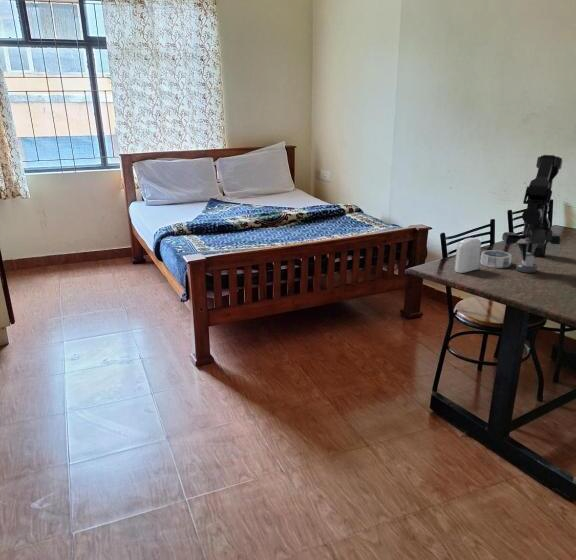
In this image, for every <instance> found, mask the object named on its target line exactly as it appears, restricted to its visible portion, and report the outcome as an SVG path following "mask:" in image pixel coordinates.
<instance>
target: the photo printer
mask: <svg viewBox="0 0 576 560" xmlns="http://www.w3.org/2000/svg"><path fill="white" fill-rule="evenodd" d="M481 249H482V242H481V240H480V239H479V238H475V237H468V238H464V239H463V240H460V241H459V242H457V246H456V251H455V252H456V253H455V260H454V261H455V262H454V272H456V273H458V274H462V273H463V274H464V273H468V272H472V271H476V270H478V269H479V265H480V258H481Z"/></svg>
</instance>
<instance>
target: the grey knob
mask: <svg viewBox="0 0 576 560" xmlns="http://www.w3.org/2000/svg"><path fill="white" fill-rule="evenodd" d="M534 261H535V258H534V256H533V255H532V254H531V253H526V257H525V261H523V259H522V258H521V261H520V262H517V263H516V266H515V270H516V271H518V272H522V273H527V274H530V273H531V274H534V273H537V270H538V264H536V263H534Z"/></svg>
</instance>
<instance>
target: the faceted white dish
mask: <svg viewBox="0 0 576 560" xmlns="http://www.w3.org/2000/svg"><path fill="white" fill-rule="evenodd" d="M512 257H513V256H512V253H510V252H508V251H507V252H506V251H502V250H495V249H493V250H491V249H489V250H483V251H482V252H481V251H480V259H479V264H481V265H482V266H485V267H488V268H495V269H496V268H498V269H504V268H505V269H506V268H509V267H510V266H511V263H512Z"/></svg>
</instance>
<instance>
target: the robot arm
mask: <svg viewBox="0 0 576 560" xmlns="http://www.w3.org/2000/svg"><path fill="white" fill-rule="evenodd" d="M562 166H563V157H562V158H561V157H560V156H556V155H554V154H543V155H540V156H538V157H537V160H536V165H535V168H537V173H536V176H535V178H534V179H532V180H530V183H529V185H528V186H526V190H525V193H524V197H523V201H522V204H524V205H527V206H526V208H525V209H524V211H523V212H522V214H521V217H522V221H523V223H524V225H523V231H522V232H521V233H522V234H517V233H515V232H510V231H507V232H506V231H505V232H503V233H502V238H501V239H502V241H503V242H504V243H508V244H517V245H518V248H519V251H520V255H521V260H522V259H523V261H525V257H526V253H531V254H532V255H533V256H534V259H535V257H536V258H537V257H538V258H539V257H541V258H547V255H546V250H547V243H550V244H551V245H560V244H561V241H562V238H561V236H560V235H558V234H557V233H553V232H554V231H553V229H552V227H550V225H551V222H550V220H549V217H548V211H549V207H550V202H551V199H552V194H553V191H552V189H553V181H554V179H555V177H557V175H558V174H559V172H560V170H561V169H562ZM527 241H528V242H527Z"/></svg>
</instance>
